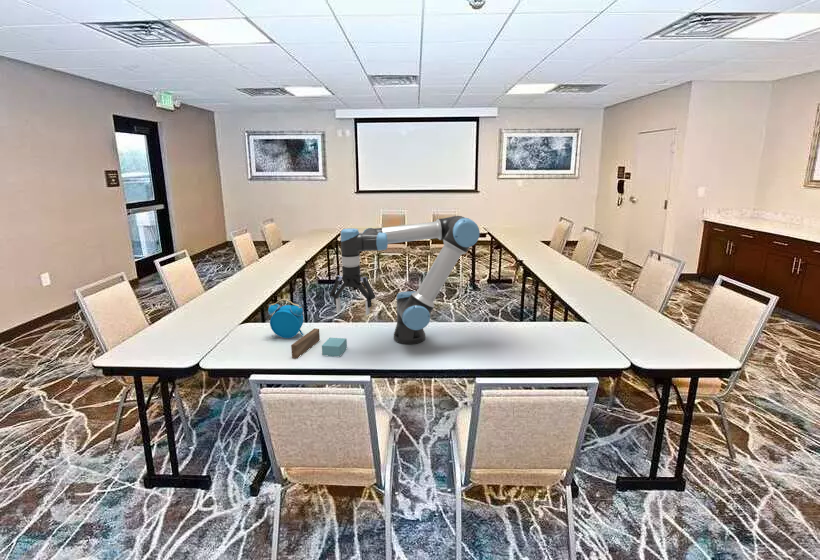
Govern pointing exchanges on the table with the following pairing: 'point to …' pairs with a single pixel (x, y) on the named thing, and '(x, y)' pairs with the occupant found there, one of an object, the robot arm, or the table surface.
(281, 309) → the alarm clock
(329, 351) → the block
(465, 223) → the robot arm
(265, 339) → the table surface
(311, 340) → the board
